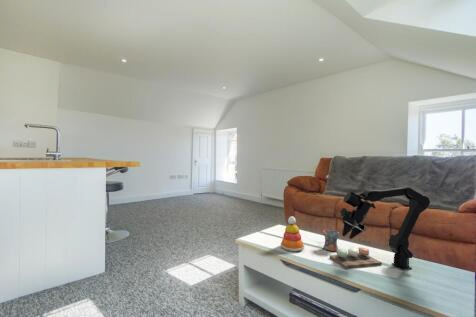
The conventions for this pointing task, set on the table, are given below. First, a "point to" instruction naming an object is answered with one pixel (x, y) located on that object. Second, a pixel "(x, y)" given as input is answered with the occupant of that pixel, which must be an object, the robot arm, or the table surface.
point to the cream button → (352, 252)
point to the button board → (355, 261)
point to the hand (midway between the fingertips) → (346, 237)
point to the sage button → (342, 253)
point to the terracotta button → (363, 251)
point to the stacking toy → (292, 237)
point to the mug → (331, 240)
